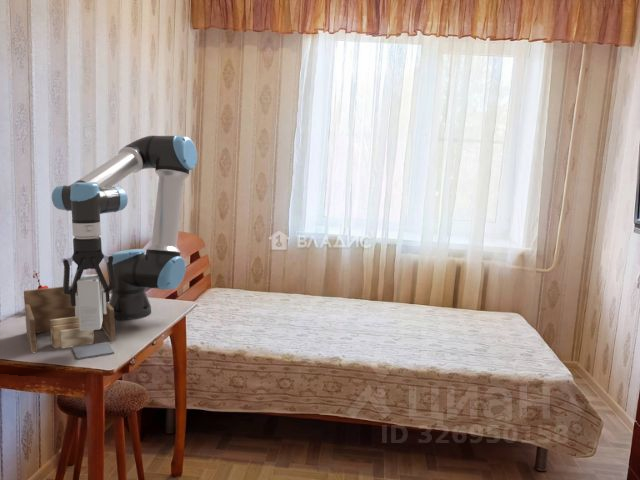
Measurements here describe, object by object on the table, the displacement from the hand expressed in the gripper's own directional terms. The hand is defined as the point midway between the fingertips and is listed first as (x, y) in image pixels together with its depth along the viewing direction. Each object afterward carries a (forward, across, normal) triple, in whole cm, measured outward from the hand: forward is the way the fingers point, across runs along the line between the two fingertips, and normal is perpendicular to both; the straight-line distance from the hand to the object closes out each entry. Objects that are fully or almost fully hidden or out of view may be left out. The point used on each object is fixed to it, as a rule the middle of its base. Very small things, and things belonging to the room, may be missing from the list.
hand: (91, 314), depth 171 cm
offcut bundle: (+11, -4, +10) cm, 15 cm away
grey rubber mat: (+11, 0, 0) cm, 11 cm away
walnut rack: (+11, -4, +18) cm, 22 cm away
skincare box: (+4, 0, 0) cm, 4 cm away
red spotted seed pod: (+11, -8, +53) cm, 55 cm away
